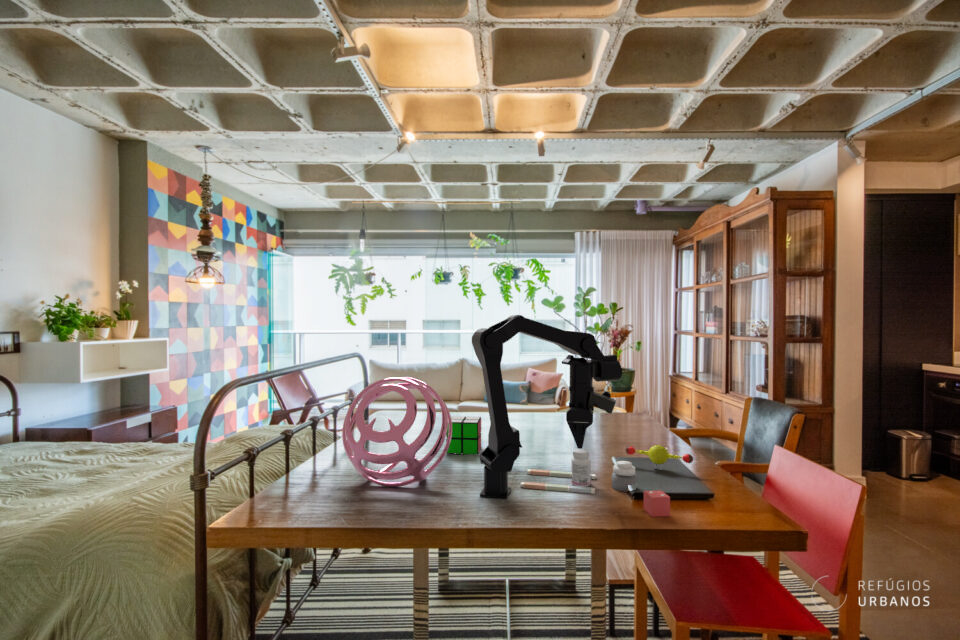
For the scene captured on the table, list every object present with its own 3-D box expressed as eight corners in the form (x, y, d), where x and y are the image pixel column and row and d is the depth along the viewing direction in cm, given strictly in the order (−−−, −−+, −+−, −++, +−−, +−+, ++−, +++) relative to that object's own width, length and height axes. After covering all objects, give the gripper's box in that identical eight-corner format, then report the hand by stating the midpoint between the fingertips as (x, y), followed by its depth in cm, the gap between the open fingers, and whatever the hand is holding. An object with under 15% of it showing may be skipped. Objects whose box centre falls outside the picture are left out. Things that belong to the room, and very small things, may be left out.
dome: (636, 476, 118) (636, 466, 118) (613, 474, 119) (613, 465, 119) (634, 470, 123) (634, 460, 123) (613, 468, 124) (613, 459, 124)
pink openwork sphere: (390, 391, 149) (362, 345, 127) (474, 419, 141) (460, 375, 118) (344, 479, 135) (303, 444, 113) (434, 515, 127) (410, 485, 105)
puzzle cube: (481, 447, 160) (481, 416, 160) (478, 455, 150) (478, 422, 150) (451, 446, 161) (451, 416, 161) (446, 454, 151) (446, 422, 151)
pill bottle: (577, 479, 127) (577, 447, 127) (594, 483, 124) (594, 450, 124) (568, 484, 123) (568, 451, 123) (585, 488, 120) (585, 454, 120)
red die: (670, 515, 103) (670, 496, 103) (652, 516, 103) (652, 497, 103) (661, 508, 107) (661, 490, 107) (643, 509, 107) (643, 490, 107)
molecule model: (695, 472, 134) (695, 447, 134) (691, 477, 129) (691, 451, 129) (628, 461, 143) (628, 438, 143) (623, 466, 138) (623, 442, 139)
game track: (638, 497, 114) (638, 484, 114) (520, 487, 121) (520, 475, 121) (635, 480, 126) (635, 468, 126) (527, 472, 133) (527, 461, 133)
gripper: (615, 388, 113) (614, 455, 112) (613, 379, 131) (612, 437, 131) (566, 386, 115) (565, 452, 115) (570, 377, 133) (570, 435, 133)
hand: (580, 443), depth 123 cm, fingers open, 9 cm apart
